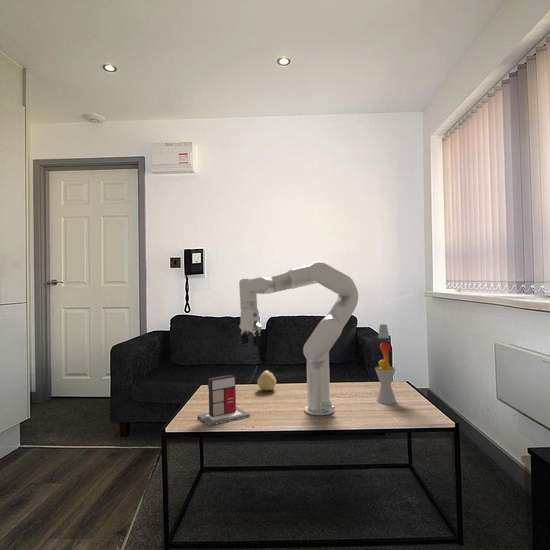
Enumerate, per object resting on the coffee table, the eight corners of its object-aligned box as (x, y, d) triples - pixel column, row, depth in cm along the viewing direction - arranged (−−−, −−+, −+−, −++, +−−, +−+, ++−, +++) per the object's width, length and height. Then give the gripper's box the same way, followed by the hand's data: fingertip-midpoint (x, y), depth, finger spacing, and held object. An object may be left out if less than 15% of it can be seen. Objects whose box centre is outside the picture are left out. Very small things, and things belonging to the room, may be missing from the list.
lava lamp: (385, 397, 174) (382, 323, 176) (401, 401, 167) (397, 324, 168) (371, 400, 169) (368, 324, 171) (387, 405, 162) (384, 325, 163)
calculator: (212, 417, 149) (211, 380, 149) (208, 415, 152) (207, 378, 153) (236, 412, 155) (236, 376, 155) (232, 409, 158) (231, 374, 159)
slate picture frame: (250, 416, 152) (249, 413, 152) (209, 426, 142) (209, 423, 142) (236, 409, 162) (236, 406, 162) (197, 417, 152) (197, 415, 153)
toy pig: (278, 387, 197) (277, 367, 198) (275, 393, 185) (274, 372, 186) (260, 387, 199) (259, 367, 199) (256, 393, 187) (255, 372, 187)
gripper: (266, 305, 161) (268, 344, 160) (246, 305, 175) (247, 342, 174) (251, 306, 156) (253, 347, 155) (232, 306, 170) (233, 343, 169)
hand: (250, 344), depth 165 cm, fingers open, 9 cm apart
